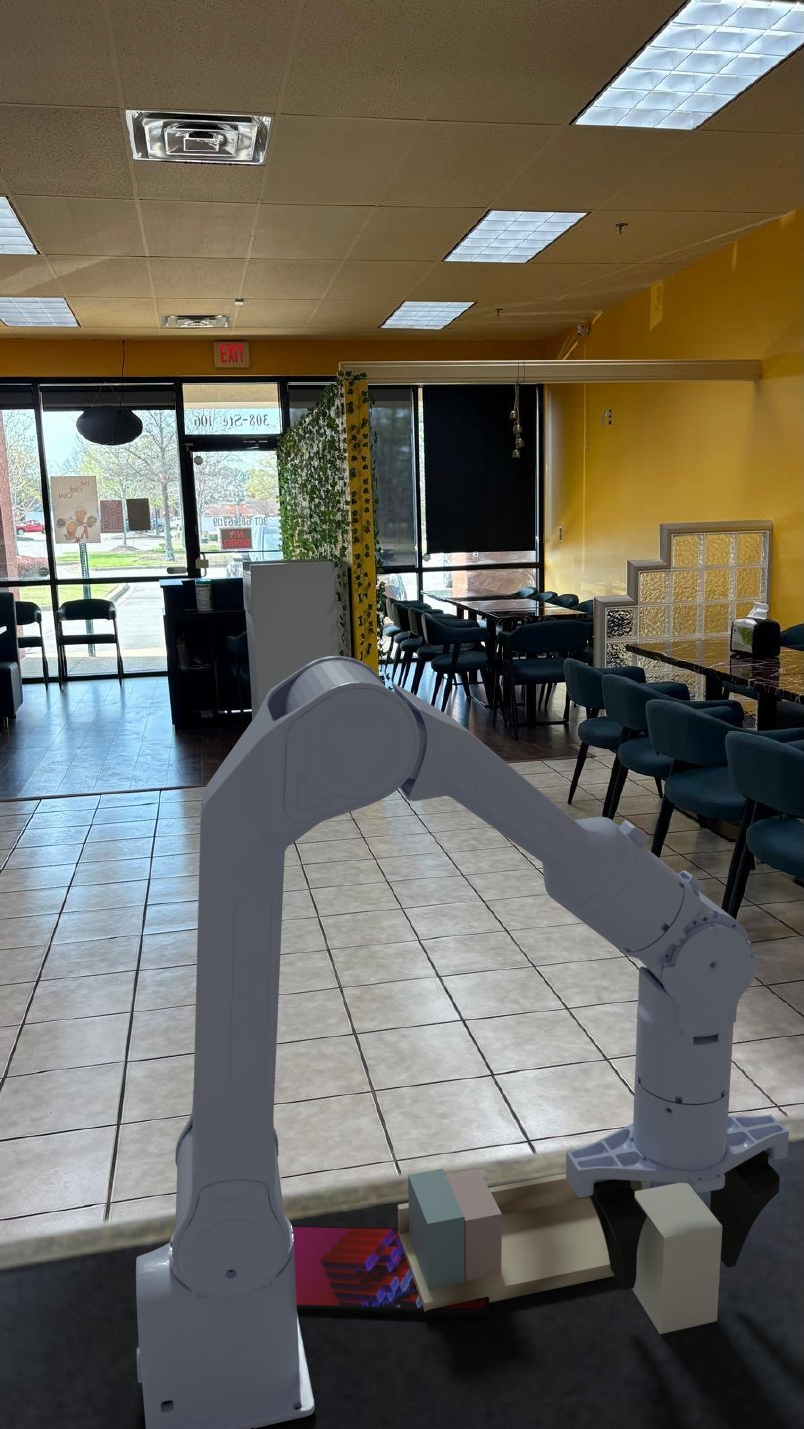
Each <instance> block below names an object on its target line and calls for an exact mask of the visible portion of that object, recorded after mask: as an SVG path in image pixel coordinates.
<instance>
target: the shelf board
mask: <svg viewBox="0 0 804 1429" xmlns="http://www.w3.org/2000/svg"><path fill="white" fill-rule="evenodd" d="M488 1188H489V1190H490V1192H491V1194H492V1196H493V1198H494V1200H495V1201H496V1203H497V1205H498V1207H499V1209H500V1211H501V1213H502V1252H501V1274H498V1275H493V1276H488V1277H484V1278H479V1279H474V1280H469V1281H465V1283H460V1284H456V1285H451V1286H446V1287H441V1288H436V1289H432V1290H428V1288H427V1285H426V1282H425V1280H424V1277H423V1274H422V1271H421V1269H420V1266H419V1263H418V1260H417V1258H416V1255H415V1252H414V1249H413V1247H412V1244H411V1241H410V1238H409V1202H406V1203H401V1204H397V1228H398V1237H399V1240H400V1242H401V1245H402V1248H403V1251H404V1254H405V1257H406V1260H407V1262H408V1265H409V1268H410V1271H411V1274H412V1277H413V1280H414V1282H415V1285H416V1288H417V1291H418V1294H419V1297H420V1300H421V1303H422V1305H423V1308H424V1312H425V1311H427V1310H430V1309H434V1308H439V1307H443V1306H448V1305H452V1304H457V1303H461V1302H466V1301H470V1300H474V1299H478V1298H484V1297H489V1304H490V1303H494V1302H498V1301H502V1300H503V1301H504V1300H508V1299H512V1298H518V1297H523V1296H527V1295H531V1294H536V1293H541V1292H544V1291H546V1292H547V1291H551V1290H554V1289H559V1288H564V1287H568V1286H573V1285H578V1284H582V1283H583V1284H584V1283H587V1282H592V1281H596V1280H601V1279H607V1278H611V1277H615V1275H614V1274H613V1272H612V1270H611V1268H610V1261H609V1255H608V1250H607V1245H606V1241H605V1237H604V1234H603V1230H602V1227H601V1224H600V1221H599V1218H598V1216H597V1213H596V1210H595V1208H594V1206H593V1203H592V1201H591V1199H590V1197H589V1196H586V1197H581V1198H579V1197H577V1195H576V1193H575V1192H574V1191H573V1189H572V1187H571V1186H570V1184H569V1182H568V1181H567V1179H566V1173H562V1174H555V1175H551V1176H550V1175H549V1176H545V1177H538V1178H535V1179H529V1180H524V1181H523V1180H522V1181H519V1182H513V1183H507V1184H502V1185H496V1186H492V1187H488Z"/></svg>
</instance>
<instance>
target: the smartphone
mask: <svg viewBox="0 0 804 1429" xmlns="http://www.w3.org/2000/svg"><path fill="white" fill-rule="evenodd" d="M292 1229H293V1234H294V1260H295V1282H296V1304H297V1314H319V1315H320V1314H323V1315H325V1314H326V1315H351V1316H352V1315H353V1316H368V1317H370V1316H371V1317H372V1316H373V1317H376V1316H377V1317H381V1316H382V1317H405V1318H406V1317H408V1318H410V1317H412V1318H433V1319H435V1318H436V1319H437V1318H440V1319H461V1320H462V1319H465V1320H466V1319H467V1320H469V1319H470V1320H478V1319H483V1318H484V1317H486V1316H488V1314H489V1312H490V1303H489V1297H484V1298H478V1299H474V1300H470V1301H466V1302H461V1303H457V1304H452V1305H448V1306H443V1307H439V1308H434V1309H430V1310H427V1311H425V1312H424V1308H423V1305H422V1303H421V1300H420V1297H419V1294H418V1291H417V1288H416V1285H415V1282H414V1280H413V1277H412V1274H411V1271H410V1268H409V1265H408V1262H407V1260H406V1257H405V1254H404V1251H403V1248H402V1245H401V1242H400V1240H399V1237H398V1227H379V1226H377V1227H373V1226H371V1227H370V1226H334V1225H333V1226H330V1225H329V1226H328V1225H325V1226H324V1225H320V1226H319V1225H292Z"/></svg>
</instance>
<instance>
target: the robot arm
mask: <svg viewBox="0 0 804 1429" xmlns="http://www.w3.org/2000/svg"><path fill="white" fill-rule="evenodd" d="M391 687H392V688H393V690H391V689H390V688H388V687H387V686H386V685H385V684H384V681H383V680H382V678H381V677H380V676H379V675H378V674H377V673H376V671H375V670H374V669H372V668H371V667H370V666H369V665H368V664H366V663H364V662H362V661H360V660H358V659H356V658H354V657H349V656H345V655H344V656H343V655H342V656H341V655H330V656H323V657H321V658H318V659H315V660H313V661H311V662H308V663H307V664H306V665H304V666H303V667H301V668H299V669H298V670H297V671H295V672H293V673H292V674H290V676H288V677H287V678H285V679H283V680H282V681H281V682H279V683H278V684H275V685H274V686H273V687H272V688H270V689H269V691H268V692H267V694H266V696H265V698H264V699H263V701H262V703H261V706H260V708H259V709H258V710H257V712H256V714H255V716H254V717H253V719H252V720H251V722H250V724H249V725H248V727H247V728H246V729H245V731H243V733H242V734H241V736H240V738H239V739H238V740H237V742H236V743H235V744H234V746H233V748H232V749H231V751H230V752H229V753H228V755H227V756H226V758H225V759H224V760H223V761H222V763H221V764H220V766H219V767H218V769H217V770H216V772H215V773H214V774H213V776H212V778H210V781H208V783H207V784H206V786H205V788H204V790H203V794H202V798H201V802H200V818H199V820H200V824H199V827H200V828H199V862H198V864H199V865H198V902H197V903H198V905H197V935H196V936H197V940H196V941H197V942H196V943H197V944H196V945H197V946H196V981H195V982H196V983H195V1017H194V1018H195V1019H194V1021H195V1022H194V1057H193V1058H194V1059H193V1091H192V1105H191V1106H192V1107H191V1113H190V1115H189V1119H188V1121H187V1123H186V1124H185V1125H184V1128H183V1130H182V1131H181V1132H180V1135H179V1136H178V1139H177V1142H176V1147H175V1165H176V1171H177V1172H176V1194H175V1198H176V1199H175V1223H174V1225H175V1226H174V1227H175V1228H174V1232H172V1234H171V1238H170V1241H169V1242H167V1243H166V1244H165V1245H163V1246H161V1247H159V1248H156V1249H154V1250H153V1251H149V1252H147V1253H144V1254H141V1255H138V1256H137V1257H136V1259H135V1260H136V1262H135V1263H136V1266H135V1279H136V1280H135V1285H136V1286H135V1290H136V1292H135V1294H136V1296H135V1297H136V1313H137V1314H136V1315H137V1316H136V1317H137V1335H138V1336H137V1338H138V1347H137V1348H136V1372H137V1381H138V1383H139V1384H141V1383H142V1384H141V1385H142V1386H141V1387H142V1396H143V1398H142V1399H143V1407H144V1408H143V1409H144V1421H145V1429H251V1428H254V1429H257V1428H262V1427H266V1426H269V1425H275V1424H278V1423H283V1422H287V1421H292V1420H297V1419H301V1418H306V1417H308V1416H309V1417H310V1415H312V1414H313V1413H314V1412H315V1399H314V1394H313V1389H312V1384H311V1378H310V1373H309V1368H308V1362H307V1357H306V1351H305V1348H304V1342H303V1335H302V1330H301V1326H300V1321H299V1315H298V1313H297V1304H296V1282H295V1260H294V1234H293V1229H292V1226H293V1225H292V1223H291V1221H290V1220H289V1218H288V1216H286V1214H285V1211H284V1210H285V1209H284V1203H283V1193H282V1185H281V1184H282V1183H281V1177H280V1176H281V1175H280V1168H279V1159H278V1158H279V1140H278V1139H279V1138H278V1133H277V1131H276V1129H275V1127H274V1126H275V1124H274V1123H275V1122H274V1116H275V1115H274V1114H275V1110H274V1109H275V1092H276V1089H275V1088H276V1087H275V1086H276V1070H277V1069H276V1068H277V1067H276V1066H277V1060H276V1059H277V1044H278V1041H277V1040H278V1018H279V1017H278V1015H279V996H280V995H279V993H280V974H281V973H280V971H281V950H282V949H281V946H282V925H283V924H282V923H283V901H284V900H283V899H284V882H285V881H284V880H285V879H284V878H285V877H284V876H285V855H286V854H285V853H286V850H287V849H288V848H289V847H290V846H291V845H292V844H294V843H295V842H296V841H297V840H299V839H300V838H302V837H303V836H305V834H307V833H308V832H310V831H311V830H312V829H314V828H315V827H317V825H319V824H321V823H322V822H324V821H328V820H330V819H333V818H336V817H339V816H342V815H345V814H348V813H350V812H353V811H356V810H360V809H362V808H364V807H368V806H370V805H372V804H375V803H377V802H380V801H381V800H383V799H385V798H388V797H389V796H391V795H392V794H393V793H396V792H397V791H398V789H400V790H401V792H402V793H403V795H404V796H405V798H406V799H407V800H408V801H409V802H418V801H424V800H430V799H435V798H442V797H449V798H451V799H453V800H454V801H456V802H457V803H458V804H460V805H461V806H463V807H464V808H466V809H467V810H468V811H469V812H471V813H472V814H474V815H475V816H476V817H478V818H480V819H481V820H482V821H484V822H485V823H486V824H488V825H489V826H490V827H492V828H493V829H495V830H496V831H498V832H499V833H500V834H502V835H503V836H505V837H506V838H507V839H509V840H510V841H512V842H513V843H514V844H516V845H517V846H519V847H520V848H521V849H523V851H526V852H527V853H528V854H529V855H531V856H532V857H534V858H535V859H536V860H538V861H539V862H541V863H542V871H543V872H542V873H543V883H544V888H545V891H546V893H547V895H548V896H549V897H550V899H552V900H553V901H554V902H556V903H557V904H559V905H560V906H561V907H562V908H564V909H565V910H566V911H568V912H569V913H571V914H572V915H574V916H575V917H576V918H577V919H578V920H580V921H581V922H582V923H584V924H585V925H587V927H588V928H590V929H591V930H593V931H594V932H596V933H597V934H598V935H599V936H601V937H602V938H603V939H605V941H607V942H609V943H610V944H611V945H613V946H614V947H615V948H616V949H618V950H619V951H620V952H621V953H623V954H625V955H626V956H629V957H631V958H635V959H638V960H639V961H640V962H641V963H642V964H643V965H644V966H639V969H638V992H637V994H638V995H637V1010H636V1012H637V1013H636V1036H635V1038H636V1042H635V1065H634V1066H635V1067H634V1069H635V1071H634V1090H633V1091H634V1094H633V1095H634V1096H633V1120H632V1123H631V1124H629V1125H626V1126H624V1127H623V1128H621V1129H619V1130H617V1131H615V1132H613V1133H610V1134H609V1135H607V1136H605V1137H603V1138H601V1139H599V1140H597V1141H595V1142H593V1143H591V1144H588V1145H586V1146H582V1147H580V1148H575V1149H573V1150H568V1151H566V1154H565V1174H566V1179H567V1181H568V1182H569V1184H570V1186H571V1187H572V1189H573V1191H574V1192H575V1193H576V1195H577V1197H579V1198H581V1197H586V1196H589V1197H590V1199H591V1201H592V1203H593V1206H594V1208H595V1210H596V1213H597V1216H598V1218H599V1221H600V1224H601V1227H602V1230H603V1234H604V1237H605V1241H606V1245H607V1250H608V1255H609V1261H610V1268H611V1270H612V1272H613V1274H614V1275H615V1276H614V1277H615V1279H616V1280H617V1281H618V1284H619V1285H620V1286H621V1289H622V1290H623V1291H624V1290H625V1291H626V1290H630V1289H631V1290H632V1288H634V1285H635V1281H636V1273H637V1248H638V1243H639V1238H640V1234H641V1230H642V1227H643V1224H644V1222H645V1220H646V1218H647V1215H646V1213H645V1212H644V1211H643V1209H642V1208H641V1206H640V1205H639V1203H638V1202H637V1201H636V1199H635V1190H634V1189H632V1188H631V1181H630V1180H634V1181H650V1182H655V1183H656V1182H657V1183H671V1184H676V1183H687V1184H689V1185H690V1186H691V1187H692V1189H693V1190H694V1191H695V1192H696V1193H697V1192H698V1193H707V1192H710V1203H709V1204H710V1205H709V1210H710V1211H711V1212H712V1214H713V1215H714V1216H715V1217H716V1219H717V1220H718V1221H719V1222H720V1224H721V1225H722V1241H721V1258H720V1261H722V1263H723V1265H725V1267H726V1268H731V1267H736V1265H737V1262H738V1260H739V1257H740V1255H741V1252H742V1249H743V1247H744V1244H745V1242H746V1239H747V1237H748V1235H749V1234H750V1231H751V1229H752V1227H753V1225H754V1223H755V1221H756V1220H757V1218H758V1217H759V1215H760V1214H761V1213H762V1211H763V1210H764V1208H765V1207H766V1206H767V1205H768V1203H769V1202H770V1201H771V1200H772V1199H773V1198H775V1196H777V1195H778V1194H779V1191H780V1184H781V1183H780V1181H781V1180H780V1179H781V1177H780V1175H779V1174H778V1172H777V1171H776V1170H775V1169H774V1168H773V1167H772V1166H771V1164H770V1163H769V1158H770V1159H771V1160H774V1161H775V1160H777V1161H778V1160H781V1159H787V1158H788V1147H789V1136H790V1135H789V1134H790V1131H789V1130H788V1129H787V1128H785V1126H783V1124H781V1123H780V1122H779V1121H778V1119H776V1117H774V1116H773V1115H772V1114H765V1115H758V1116H757V1115H756V1116H749V1115H748V1116H744V1115H742V1116H741V1115H729V1106H730V1090H731V1077H732V1075H731V1074H732V1058H733V1057H732V1056H733V1039H734V1025H735V1023H736V1022H737V1014H738V1013H737V1012H738V1004H739V1002H740V1000H741V997H742V996H743V995H744V994H745V993H746V992H747V990H748V989H749V987H751V984H752V982H753V981H754V979H755V976H756V974H757V972H758V968H759V964H760V958H759V957H758V956H755V954H754V953H752V943H751V941H750V940H748V938H749V937H750V936H749V934H748V933H747V930H746V929H745V928H744V926H743V925H742V924H741V923H740V922H739V921H738V920H736V919H735V918H734V917H732V915H730V914H729V913H727V912H726V911H725V910H724V909H722V907H720V906H719V905H718V904H716V903H715V902H713V901H712V900H711V899H710V898H709V897H707V896H706V895H704V894H703V893H702V892H701V890H702V889H703V884H702V882H701V881H700V880H698V879H697V878H696V877H694V876H693V874H691V873H690V872H689V871H687V870H681V872H679V873H678V872H676V871H675V869H673V868H671V866H669V865H668V864H667V863H666V862H664V861H663V860H661V859H660V858H659V857H658V856H657V855H656V854H654V853H653V852H652V851H650V849H648V848H647V847H646V845H647V844H648V842H649V840H650V839H649V836H648V835H647V834H645V833H644V832H643V831H642V830H641V829H639V828H638V827H637V826H635V825H634V824H633V823H631V822H630V821H629V820H624V821H622V822H621V824H620V825H619V824H618V823H616V822H615V821H614V820H612V819H611V818H609V817H604V816H594V817H586V818H578V819H577V818H576V819H574V818H572V817H571V816H570V815H569V814H567V813H566V812H565V810H563V809H562V808H561V807H559V806H558V805H557V804H556V803H554V801H552V800H551V799H550V798H549V797H548V796H546V795H545V794H544V793H543V792H542V791H540V790H539V789H538V788H537V787H536V786H534V785H533V784H532V783H531V782H529V780H527V779H526V778H525V777H524V776H523V775H521V774H520V773H519V772H518V771H517V770H516V769H514V768H513V767H512V766H511V765H510V764H509V763H507V762H506V761H505V759H502V757H500V756H499V755H498V754H496V753H495V752H494V751H493V750H492V749H491V748H489V746H487V745H486V744H485V743H484V742H482V741H481V740H480V739H479V738H478V737H476V736H475V735H474V734H473V733H472V732H470V731H469V730H468V729H467V728H466V727H465V726H464V725H462V724H461V723H460V722H459V721H457V720H456V719H454V718H453V717H451V716H450V715H449V714H447V713H445V712H443V711H442V710H440V709H439V708H437V707H435V706H433V705H432V704H431V703H429V702H427V701H425V700H424V699H422V698H421V697H419V696H418V695H415V694H414V693H412V692H411V691H409V690H407V689H406V688H403V687H402V686H400V685H398V684H397V683H394V682H391ZM296 1408H298V1409H296Z"/></svg>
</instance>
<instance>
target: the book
mask: <svg viewBox="0 0 804 1429" xmlns="http://www.w3.org/2000/svg"><path fill="white" fill-rule="evenodd" d="M635 1199H636V1201H637V1202H638V1203H639V1205H640V1206H641V1208H642V1209H643V1211H644V1212H645V1213H646V1215H647V1218H646V1220H645V1222H644V1224H643V1227H642V1230H641V1234H640V1238H639V1243H638V1248H637V1273H636V1281H635V1285H634V1288H632V1289H631V1290H632V1291H633V1293H634V1294H635V1296H636V1298H637V1299H638V1301H639V1303H640V1304H641V1306H642V1307H643V1309H644V1311H645V1312H646V1314H647V1315H648V1318H649V1319H650V1321H651V1322H652V1324H653V1325H654V1327H655V1329H656V1330H657V1331H658V1333H659V1334H660V1335H663V1334H667V1333H671V1332H676V1331H679V1330H680V1331H681V1330H684V1329H688V1328H693V1327H697V1326H701V1325H706V1324H709V1323H715V1322H717V1321H718V1311H719V1310H718V1306H719V1289H720V1274H721V1272H720V1271H721V1259H720V1258H721V1241H722V1225H721V1224H720V1222H719V1221H718V1220H717V1219H716V1217H715V1216H714V1215H713V1214H712V1212H711V1211H710V1208H708V1207H709V1206H707V1205H706V1204H705V1203H704V1201H703V1200H702V1199H701V1197H699V1195H698V1194H697V1191H695V1190H694V1189H692V1187H691V1186H690V1185H689V1184H687V1183H671V1184H666V1185H661V1186H655V1187H650V1189H644V1190H639V1191H635Z"/></svg>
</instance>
